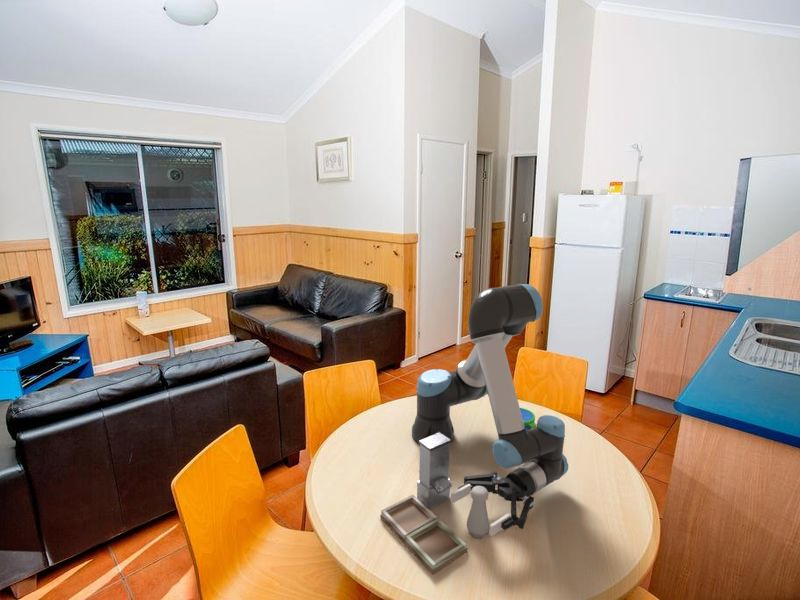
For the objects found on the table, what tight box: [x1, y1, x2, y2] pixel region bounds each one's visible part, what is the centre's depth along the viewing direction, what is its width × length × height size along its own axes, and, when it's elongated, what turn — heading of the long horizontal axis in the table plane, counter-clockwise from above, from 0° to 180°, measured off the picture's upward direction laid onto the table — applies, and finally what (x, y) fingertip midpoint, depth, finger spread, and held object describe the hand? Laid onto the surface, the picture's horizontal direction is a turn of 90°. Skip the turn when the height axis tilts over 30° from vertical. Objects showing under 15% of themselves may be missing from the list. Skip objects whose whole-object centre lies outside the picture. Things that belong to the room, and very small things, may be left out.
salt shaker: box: [466, 486, 490, 540], centre depth 112 cm, size 6×6×13 cm
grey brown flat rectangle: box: [380, 494, 469, 575], centre depth 113 cm, size 22×11×2 cm, turn 36°
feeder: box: [416, 432, 453, 510], centre depth 122 cm, size 8×8×19 cm
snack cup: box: [520, 407, 537, 431], centre depth 153 cm, size 16×10×10 cm
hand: (470, 513), depth 110 cm, fingers open, 13 cm apart
